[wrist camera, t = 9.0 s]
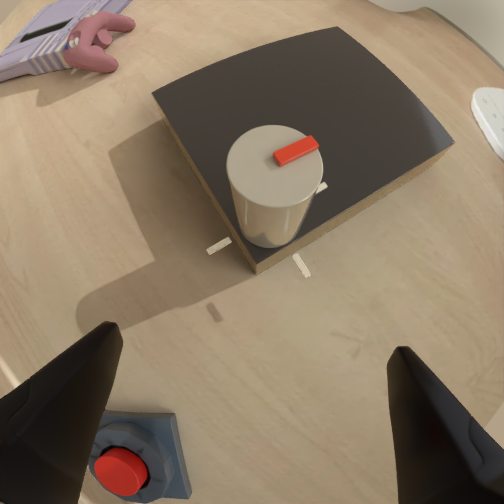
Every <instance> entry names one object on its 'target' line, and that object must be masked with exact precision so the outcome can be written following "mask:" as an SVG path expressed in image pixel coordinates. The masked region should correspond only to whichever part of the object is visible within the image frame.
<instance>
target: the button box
mask: <svg viewBox="0 0 504 504" xmlns="http://www.w3.org/2000/svg"><path fill="white" fill-rule="evenodd" d="M112 448H124V449H127V450H130V451H132V452H133V453H135V454H136V455H137V456H138V457H139V458H140V459H141V460H142V461H143V462H144V464H145V466H146V468H147V474H148V475H147V479H146V481H145V482H144V484H143V485H142V486H141V487H140V489H139V490H138V491H137V492H136V493H135V494H133V495H130V496H122V495H118V494H115V493H113V492H111V491H110V490H108V489H107V488H106V487H104V486H103V485H102V483H101V482H100V481H99V480H98V478H97V476H96V474H95V469H94V466H95V462H96V460H97V459H98V458H100V457H101V456H102V455H103V454H105V453H106V452H107V451H108V450H110V449H112ZM88 466H89V469H90V471H91V473H92V474H93V475H94V477H95V478H96V479H97V480H98V481H99V483H100V484H101V485H102V486H103V487H104V488H105V489H106V490H107V491H109V492H111V493H112V494H114V495H116V496H117V497H119V498H121V499H123V500H125V501H131V502H137V503H144V504H146V503H149V502H152V501H154V500H157V499H159V498H162V497H163V498H175V499H189V498H190V496H191V493H192V489H191V486H190V482H189V477H188V473H187V469H186V465H185V460H184V456H183V451H182V447H181V442H180V437H179V432H178V427H177V421H176V416H175V413H136V412H120V411H107V410H104V413H103V416H102V419H101V422H100V425H99V428H98V431H97V434H96V437H95V441H94V444H93V447H92V451H91V454H90V458H89V461H88Z"/></svg>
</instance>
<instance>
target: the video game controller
mask: <svg viewBox="0 0 504 504" xmlns="http://www.w3.org/2000/svg"><path fill="white" fill-rule="evenodd" d="M135 25H136V24H135V22H134V20H132V19H131V18H129V17H126V16H122V15H117V14H113V13H109V12H106V11H96V10H94V11H93V12H92V13H91V14H88V15H87V16H86V17H84V18H83V19H81V20H80V21H79V22H78V23H77V24H76V25H75V26H74V28H73V29H72V30H71V32H70V34H69V36H68V39H67V44H66V46H65V50H64V52H63V57H64V60H65V62H66V63H67V64H68V65H69V66H71V67H73V68H82V69H85V70H89V71H93V72H100V73H108V72H112V71H115V70H117V68H118V66H119V64H118V62H117V60H116V59H114V58H113V57H111V56H109V55H106V54H105V52H104V50H103V49H105V48H106V47H107V46H109V45H110V44H111V43H112V37H111V35H110V34H109V32H108V31H116V32H126V31H131V30H133V29H134V28H135ZM92 41H93V42H94V44H95V45H93V46H91V44H92Z"/></svg>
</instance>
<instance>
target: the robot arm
mask: <svg viewBox="0 0 504 504" xmlns="http://www.w3.org/2000/svg"><path fill="white" fill-rule="evenodd" d="M122 347H123V339H122V336H121V333H120V330H119V327H118V325H117V324H116V323H115V322H109V321H105V322H103V323H101V324H100V325H99V326H97V327H96V328H95V329H93V330H92V331H91V332H89V333H88V334H87V335H85V336H84V337H82V338H81V339H80V340H78V341H77V342H76V343H74V344H73V345H72V346H70V347H69V348H68V349H66V350H65V351H64V352H62V353H61V354H60V355H58V356H57V357H56V358H55V359H53V360H52V361H51V362H49V363H48V364H47V365H45V366H44V367H43V368H41V369H40V370H39V371H38V372H36V373H35V374H34V375H32V376H31V377H30V379H27V380H26V381H25V382H23V383H22V384H21V385H19V386H18V387H17V388H15V389H14V390H13V391H11V392H10V393H8V394H7V395H5V396H4V397H2V398H1V399H0V504H78V500H79V496H80V492H81V488H82V482H83V479H84V476H85V472H86V468H87V465H88V461H89V458H90V454H91V451H92V447H93V444H94V441H95V437H96V434H97V431H98V428H99V425H100V422H101V419H102V416H103V413H104V410H105V407H106V404H107V401H108V398H109V395H110V392H111V389H112V386H113V383H114V379H115V375H116V371H117V367H118V363H119V359H120V355H121V351H122ZM387 379H388V397H389V411H390V418H391V426H392V433H393V441H394V450H395V460H396V471H397V484H398V502H399V504H504V449H503V448H502V447H501V446H500V445H499V444H498V443H497V442H495V440H494V439H493V438H492V437H491V436H490V435H489V434H488V433H487V432H486V431H485V430H484V429H483V428H482V427H481V426H480V424H479V423H478V422H477V421H476V420H475V419H474V418H473V416H471V414H470V413H469V412H468V411H467V410H466V408H465V407H464V406H463V405H462V404H461V403H460V402H459V401H458V399H457V398H456V397H455V396H454V395H453V394H452V393H451V392H450V390H449V389H448V388H447V387H446V386H445V385H444V384H443V383H442V382H441V380H440V379H439V378H438V377H437V376H436V375H435V374H434V373H433V372H432V371H431V370H430V369H429V367H428V366H427V365H426V364H425V363H424V362H423V361H422V360H421V359H420V358H419V357H418V356H417V355H416V354H415V352H414V351H413V350H412V349H411V348H410V347H408V346H398V347H397V348H396V349H395V350H394V352H393V354H392V355H391V357H390V359H389V361H388V363H387Z"/></svg>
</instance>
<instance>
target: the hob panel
mask: <svg viewBox="0 0 504 504" xmlns="http://www.w3.org/2000/svg"><path fill="white" fill-rule="evenodd" d="M152 96H153V98H154V100H155V102H156V105H157V107H158V109H159V111H160V114H161V116H162V118H163V120H164V123H165V124H166V126H167V128H168V129H169V131H170V133H171V134H172V136H173V138H174V139H175V141H176V143H177V144H178V146H179V148H180V149H181V151H182V153H183V154H184V156H185V158H186V159H187V161H188V163H189V164H190V166H191V168H192V169H193V171H194V173H195V174H196V176H197V178H198V179H199V181H200V183H201V184H202V186H203V188H204V189H205V191H206V193H207V194H208V196H209V198H210V199H211V201H212V203H213V204H214V206H215V208H216V209H217V211H218V213H219V214H220V216H221V218H222V219H223V221H224V223H225V224H226V226H227V227H228V229H229V231H230V232H231V234H232V236H233V237H234V239H235V241H236V242H237V244H238V246H239V247H240V249H241V251H242V252H243V254H244V255H245V257H246V259H247V260H248V262H249V264H250V265H251V267H252V269H253V270H254V272H255V273H256V275H258V274H260V273H262V272H263V271H265V270H267V269H268V268H270V267H271V266H273V265H275V264H276V263H278V262H280V261H281V260H283V259H285V258H286V257H288V256H290V255H291V254H293V253H295V252H296V251H298V250H300V249H301V248H303V247H304V246H306V245H308V244H309V243H311V242H313V241H314V240H316V239H317V238H319V237H321V236H322V235H324V234H326V233H327V232H329V231H330V230H332V229H334V228H335V227H337V226H338V225H340V224H342V223H343V222H345V221H346V220H348V219H350V218H351V217H353V216H354V215H356V214H358V213H359V212H361V211H362V210H364V209H366V208H367V207H369V206H370V205H372V204H373V203H375V202H377V201H378V200H380V199H381V198H383V197H384V196H386V195H388V194H389V193H391V192H392V191H394V190H395V189H397V188H398V187H400V186H402V185H403V184H405V183H406V182H408V181H409V180H411V179H412V178H414V177H415V176H417V175H419V174H420V173H422V172H423V171H425V170H426V169H428V168H429V167H431V166H432V165H434V164H435V163H436V162H437V161H438V160H439V159H440V158H441V157H442V156H443V155H444V154H445V153H446V151H447V150H448V149H449V148H450V147H451V146H452V145H453V144H454V143H455V141H454V140H453V139H452V137H451V136H450V135H449V134H448V132H447V131H446V130H445V129H444V127H443V126H442V125H441V124H440V122H439V121H438V120H437V119H436V118H435V117H434V115H433V114H432V113H431V112H430V111H429V110H428V109H427V107H426V106H425V105H424V104H423V103H422V102H421V101H420V100H419V99H418V98H417V96H416V95H415V94H414V93H413V92H412V91H411V90H410V89H409V88H408V87H407V86H406V85H405V84H404V83H403V82H402V81H401V80H400V79H399V78H398V77H397V76H396V75H395V74H394V73H393V72H392V71H391V70H389V69H388V68H387V67H386V66H385V65H384V64H383V63H382V62H381V61H380V60H378V59H377V58H376V57H375V56H374V55H373V54H372V53H370V52H369V51H368V50H367V49H366V48H365V47H363V46H362V45H361V44H360V43H358V42H357V41H356V40H355V39H353V38H352V37H351V36H350V35H348V34H347V33H346V32H344V31H343V30H342V29H340V28H339V27H338V26H337V27H332V28H327V29H322V30H318V31H313V32H309V33H305V34H301V35H297V36H293V37H290V38H286V39H283V40H279V41H276V42H272V43H269V44H266V45H263V46H260V47H257V48H254V49H251V50H248V51H245V52H242V53H239V54H237V55H234V56H231V57H229V58H226V59H223V60H221V61H218V62H216V63H214V64H211V65H209V66H206V67H204V68H202V69H199V70H197V71H195V72H193V73H190V74H188V75H186V76H184V77H182V78H180V79H177V80H175V81H173V82H171V83H169V84H167V85H165V86H163V87H161V88H159V89H157V90H156V91H154V92H152ZM266 125H280V126H286V127H289V128H292V129H295V130H297V131H299V132H301V133H302V134H304V135H305V136H307V137H308V136H310V135H312V137H313V138H314V139H315V141H316V142H317V143H318V144H319V148H318V151H319V153H320V155H321V158H322V162H323V176H322V180H321V182H320V185H319V187H318V189H317V192H316V194H315V196H314V198H313V201H312V203H311V205H310V208H309V210H308V212H307V214H306V217H305V219H304V221H303V223H302V226H301V228H300V230H299V232H298V234H297V235H296V236H295V238H294V239H293V240H291V241H290V242H289V243H287V244H285V245H283V246H281V247H277V248H263V247H259V246H257V245H254V244H253V243H251V242H249V241H248V240H247V239H246V238H245V237H244V236H243V234H242V233H241V231H240V229H239V227H238V223H237V219H236V214H235V209H234V204H233V200H232V195H231V190H230V185H229V180H228V176H227V170H226V161H227V156H228V153H229V151H230V148H231V147H232V145H233V144H234V142H235V141H236V140H237V139H238V138H239V137H240V136H241V135H243V134H244V133H246V132H247V131H249V130H251V129H254V128H256V127H260V126H266ZM230 243H232V242H231V240H230V238H229V237H226V238H225V239H223V240H221V241H219V242H218V243H216V244H214V245H213V246H211V247H209V248H208V249H206V250H207V252H208V254H209V255H211V254H213V253H215V252H216V251H218V250H220V249H221V248H223V247H225V246H227V245H228V244H230ZM292 258H293V260H294V262H295V263H296V265H297V266H298V268H299V269H300V271H301V273H302V274H303V276H304V277H305V279H306V278H307V277H309V276H310V275H311V274H310V272H309V270H308V269H307V267H306V266H305V264H304V262H303V261H302V259H301V258H300V256H299V255H298V253H296V254H294V255H293V256H292Z"/></svg>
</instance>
